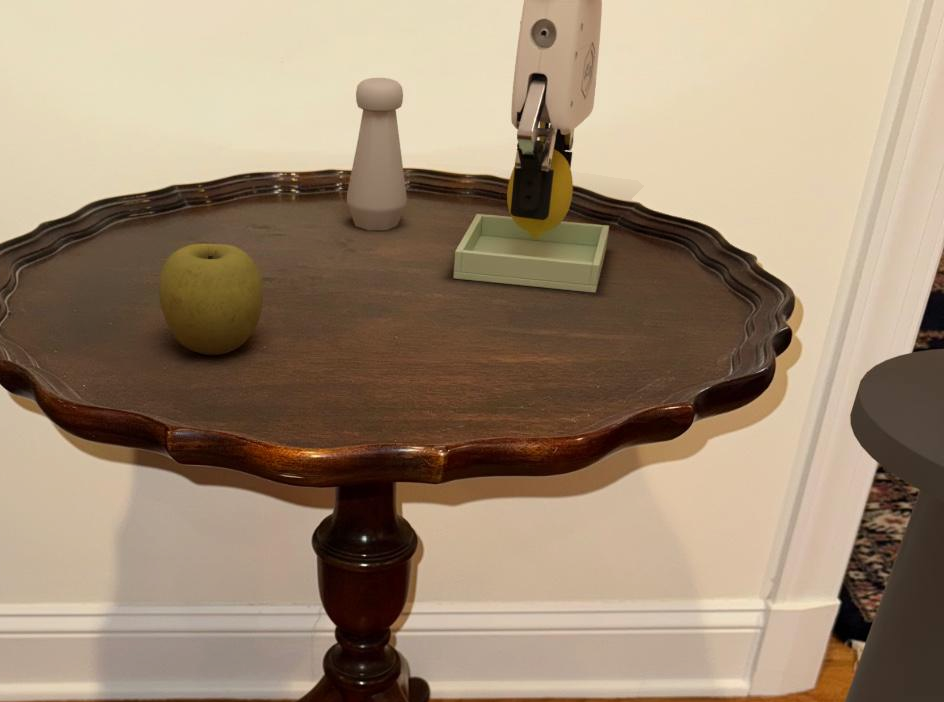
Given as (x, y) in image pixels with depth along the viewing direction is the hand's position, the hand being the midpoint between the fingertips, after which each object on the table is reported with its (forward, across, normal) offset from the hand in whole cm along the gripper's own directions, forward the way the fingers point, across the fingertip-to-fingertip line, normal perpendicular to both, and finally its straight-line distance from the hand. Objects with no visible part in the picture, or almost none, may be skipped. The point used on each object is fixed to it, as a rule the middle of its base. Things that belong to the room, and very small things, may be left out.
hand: (539, 205), depth 97 cm
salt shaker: (+5, +5, +17) cm, 19 cm away
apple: (+5, -28, +17) cm, 33 cm away
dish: (+5, 0, 0) cm, 5 cm away
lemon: (+3, 0, 0) cm, 3 cm away
